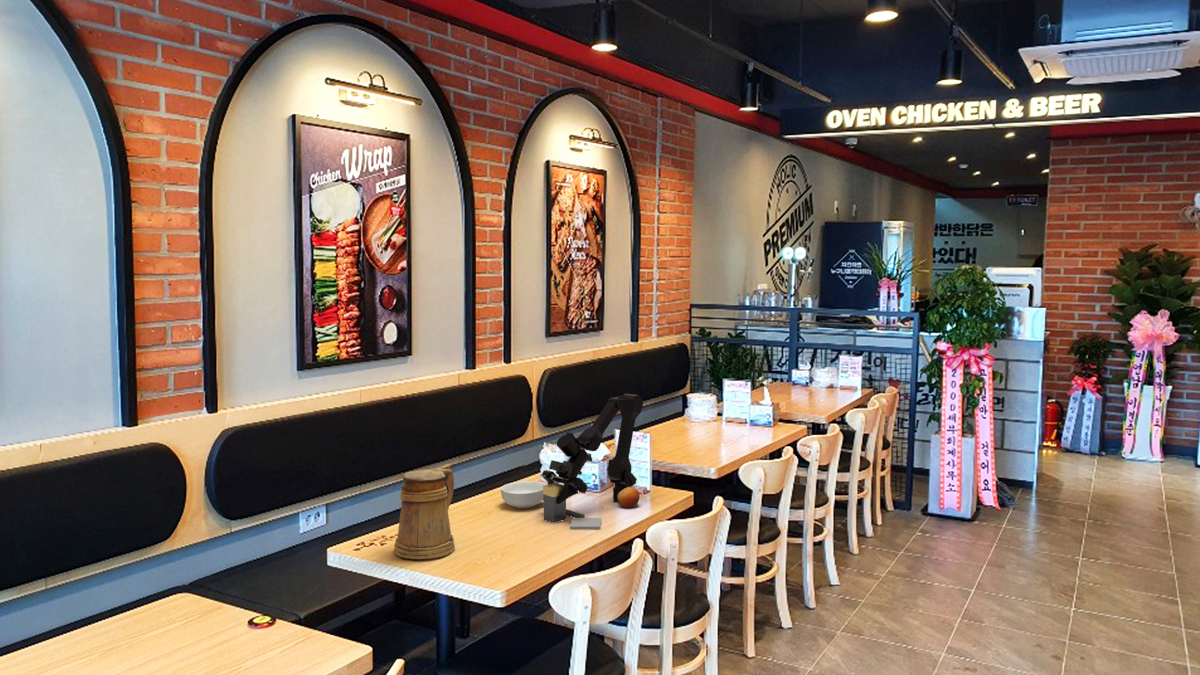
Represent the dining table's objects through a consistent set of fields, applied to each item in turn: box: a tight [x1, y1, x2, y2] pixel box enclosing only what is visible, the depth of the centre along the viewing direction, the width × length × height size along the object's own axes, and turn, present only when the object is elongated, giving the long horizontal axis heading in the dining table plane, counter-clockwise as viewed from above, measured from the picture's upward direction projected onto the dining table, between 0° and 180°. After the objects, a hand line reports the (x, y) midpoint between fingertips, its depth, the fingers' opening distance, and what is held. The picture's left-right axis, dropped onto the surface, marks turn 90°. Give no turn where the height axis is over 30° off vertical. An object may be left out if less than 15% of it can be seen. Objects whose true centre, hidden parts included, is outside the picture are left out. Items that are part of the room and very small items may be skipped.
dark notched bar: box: [566, 508, 586, 518], centre depth 311 cm, size 14×2×2 cm, turn 44°
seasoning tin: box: [542, 483, 567, 524], centre depth 305 cm, size 6×6×12 cm
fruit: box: [617, 486, 640, 509], centre depth 321 cm, size 8×8×8 cm
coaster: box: [569, 517, 602, 530], centre depth 299 cm, size 10×10×1 cm
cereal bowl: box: [500, 480, 547, 509], centre depth 324 cm, size 17×17×7 cm
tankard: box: [393, 463, 456, 560], centre depth 276 cm, size 18×24×25 cm
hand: (551, 501), depth 304 cm, fingers closed on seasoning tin, 5 cm apart
